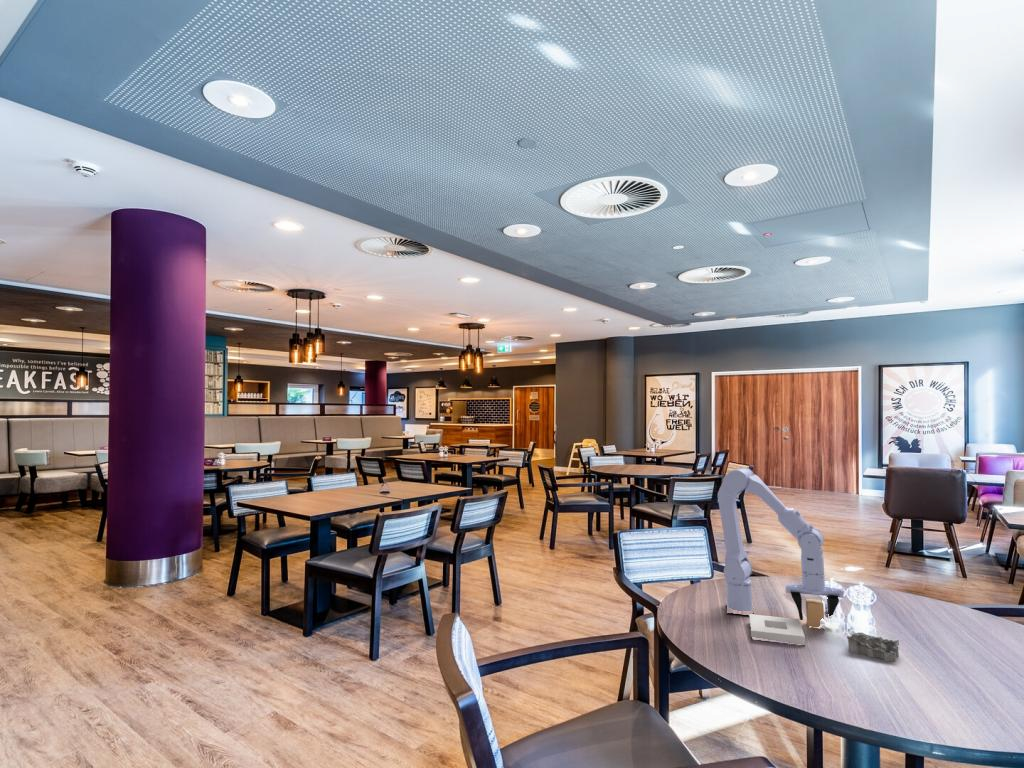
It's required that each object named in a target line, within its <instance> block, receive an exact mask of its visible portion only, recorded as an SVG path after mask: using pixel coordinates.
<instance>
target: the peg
mask: <svg viewBox="0 0 1024 768" xmlns="http://www.w3.org/2000/svg"><path fill="white" fill-rule="evenodd" d="M824 607H825V606H824V602H823V600H822V599H814V598H805V610H806V624H807V623H808V624H807V627H808V626H812V627H819V626H820V620H821V619H822V618H823V619H824V620H825V610H824Z"/></svg>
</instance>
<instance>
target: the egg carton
mask: <svg viewBox="0 0 1024 768" xmlns="http://www.w3.org/2000/svg"><path fill="white" fill-rule="evenodd" d="M847 643H848V651H850V650H851V651H850V652H852V653H853V654H856V655H857V654H862V655H863V654H864V655H866V656H867V657H868V656H869V658H879V657H882V658H883V659H882V658H881V659H882V660H884V661H885V660H887V661H886V662H891V661H890V660H895V661H894V662H896V661H897V657H896V656H898V657H899V656H900V655H899V654H900V653H899V646H900V641H899V640H893V639H888V638H885V639H884V638H883V637H880V636H879V637H877V636H873V635H868V634H866V633H864V632H855V633H853V634H851V635H849V636H848V635H847ZM874 647H875V648H874ZM886 651H889V652H886ZM875 656H877V657H875Z"/></svg>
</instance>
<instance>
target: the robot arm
mask: <svg viewBox="0 0 1024 768" xmlns="http://www.w3.org/2000/svg"><path fill="white" fill-rule="evenodd" d="M744 490H745V491H744ZM743 491H744V492H745V493H747V494H750V495H751V494H752V495H756V496H757V497H758V498H760V500H762V501H763V502H764V503H765V504H766V505H767V506H768V507H769V508H770V509H771V510H772V511H773V512H775V514H777V521H778V522H779V523H780V525H782V527H784V528H785V530H787V531H788V532H789V533H790V535H791V536H792V537H793V538H795V539H797V544H798V546H799V548H800V550H801V552H800V553H801V555H800V560H801V561H800V563H801V583H802V584H785V593H786V594H790V596H791V597H792V600H793V602H794V604H795V606H796V608H797V612H798V617H799V618H798V619H799V621H804V616H803V606H802V604H803V602H802V600H803V599H802V595H811V596H823V597H824V596H825V597H826V602H827V615H828V614H829V616H831V615H833V616H834V613H835V611H836V608H837V607H838V605H839V603H840V599H844V597H845V596H844V590H843V588H836V587H835V588H834V587H829V586H826V582H825V563H824V552H823V547H822V546H823V544H824V542H825V541H824V540H825V539H824V534H823V533H822V532H821V531H820V530H819V529H817V528H815V526H814V525H813V524H810V523H809V522H808V521H806V519H805V518H803V516H802V515H801V514H802V512H801V511H800V510H795V508H793V507H787V506H786V505H785V504H784V503H783V502H782V501H781V500H780V499H779V497H777V496H776V495H775V493H774V492H773V491H772V490H771V489H770V488H769V487H768V485H766V484H765V483H764V481H763V480H762V479H761V478H760V476H758V475H757V474H755V473H754V472H753V471H752V470H751V469H750V468H748V467H740V468H738V469H733V470H731V471H729V472H728V473H727V474H726V475H724V477H723V479H722V483H721V485H720V487H719V490H718V491H717V501H718V507H719V514H720V518H721V519H720V520H721V525H722V526H721V527H722V531H723V537H724V544H725V550H726V553H725V558H724V567H723V576H724V578H725V580H726V582H725V584H726V603H727V606H728V607H729V608H731V609H733V610H737V611H751V610H752V605H753V597H752V596H753V594H752V580H751V578H750V576H751V575H752V574H753V571H754V570H753V565H752V563H751V562H750V560H749V558H748V553H747V552H746V550H745V548H744V542H743V537H742V531H741V525H740V518H739V512H738V506H737V500H736V499H737V498H738V496H740V495H741V493H742V492H743ZM801 594H802V595H801ZM827 597H828V599H827ZM839 598H840V599H839Z"/></svg>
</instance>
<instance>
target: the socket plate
mask: <svg viewBox="0 0 1024 768" xmlns="http://www.w3.org/2000/svg"><path fill="white" fill-rule="evenodd" d="M748 617H749V626H750V627H751V629H750V637H756V638H763V639H768V640H776V641H782V642H788V643H794V644H801V645H805V646H806V636H805V632H804V630H803V626H802V624H801V620H800V618H792V617H783V616H781V617H780V616H770V615H761V614H755V613H754V614H749V616H748ZM765 626H767V627H765ZM750 627H749V628H750ZM769 627H774V628H769ZM778 628H781V629H778Z"/></svg>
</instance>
